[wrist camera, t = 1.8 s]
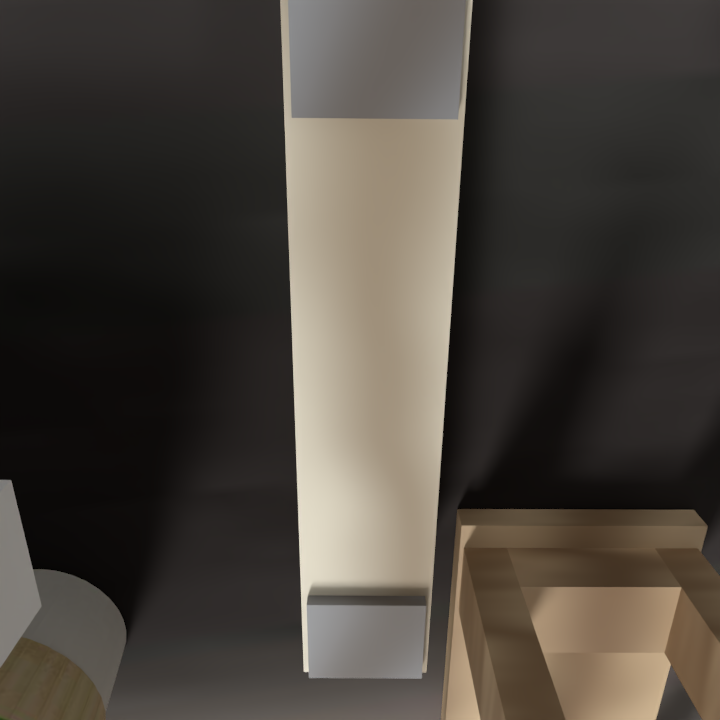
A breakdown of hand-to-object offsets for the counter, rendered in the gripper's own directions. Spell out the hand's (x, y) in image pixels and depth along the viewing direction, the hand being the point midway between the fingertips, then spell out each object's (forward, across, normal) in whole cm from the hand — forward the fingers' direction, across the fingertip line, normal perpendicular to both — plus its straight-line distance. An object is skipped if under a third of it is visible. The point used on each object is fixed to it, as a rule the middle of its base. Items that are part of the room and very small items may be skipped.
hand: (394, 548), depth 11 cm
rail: (+11, 0, 0) cm, 11 cm away
